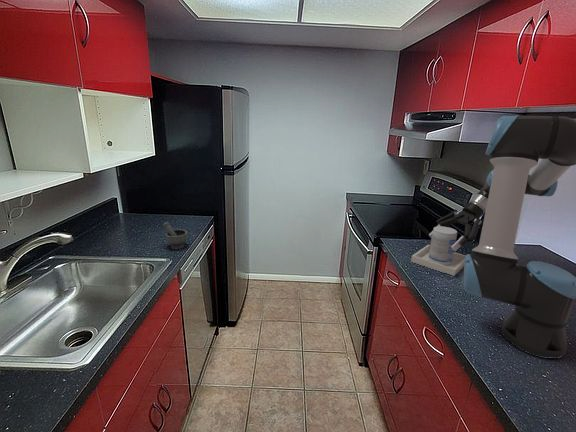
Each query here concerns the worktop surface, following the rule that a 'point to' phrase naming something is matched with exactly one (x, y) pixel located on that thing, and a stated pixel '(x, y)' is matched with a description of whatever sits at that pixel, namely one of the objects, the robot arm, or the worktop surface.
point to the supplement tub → (442, 245)
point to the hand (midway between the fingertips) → (441, 242)
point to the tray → (423, 260)
